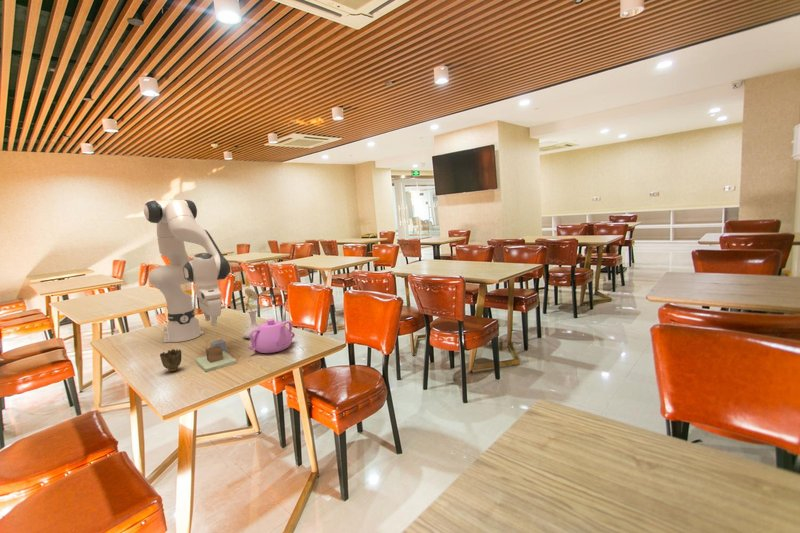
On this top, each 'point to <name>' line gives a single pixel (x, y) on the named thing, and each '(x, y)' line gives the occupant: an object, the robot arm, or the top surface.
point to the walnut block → (214, 354)
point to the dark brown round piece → (171, 359)
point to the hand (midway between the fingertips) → (211, 323)
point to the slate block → (220, 344)
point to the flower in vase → (251, 313)
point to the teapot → (271, 337)
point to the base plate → (215, 365)
